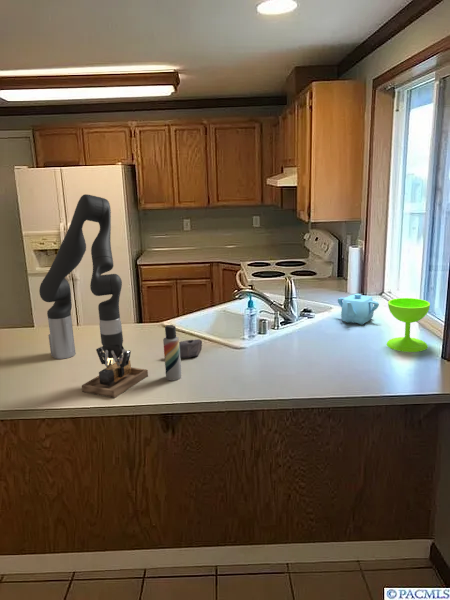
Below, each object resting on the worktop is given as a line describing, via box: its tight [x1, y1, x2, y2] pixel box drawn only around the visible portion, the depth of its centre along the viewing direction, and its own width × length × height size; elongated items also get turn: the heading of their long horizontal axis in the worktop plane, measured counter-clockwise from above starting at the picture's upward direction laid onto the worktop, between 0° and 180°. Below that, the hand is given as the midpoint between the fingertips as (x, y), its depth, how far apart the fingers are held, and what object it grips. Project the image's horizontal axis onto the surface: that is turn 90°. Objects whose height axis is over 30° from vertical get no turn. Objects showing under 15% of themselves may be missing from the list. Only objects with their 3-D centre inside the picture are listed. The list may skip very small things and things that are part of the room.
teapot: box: [337, 293, 380, 326], centre depth 242 cm, size 18×16×14 cm
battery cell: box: [98, 359, 132, 386], centre depth 183 cm, size 4×14×4 cm, turn 155°
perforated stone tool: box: [179, 338, 203, 359], centre depth 207 cm, size 15×5×7 cm, turn 96°
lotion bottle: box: [162, 324, 183, 381], centre depth 185 cm, size 6×6×20 cm
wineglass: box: [386, 297, 431, 353], centre depth 207 cm, size 16×16×18 cm
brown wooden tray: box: [81, 366, 149, 399], centre depth 184 cm, size 14×20×2 cm
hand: (115, 375), depth 183 cm, fingers closed on battery cell, 4 cm apart
